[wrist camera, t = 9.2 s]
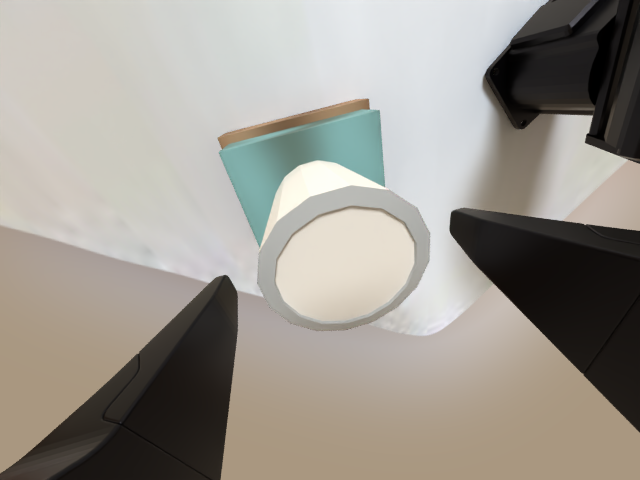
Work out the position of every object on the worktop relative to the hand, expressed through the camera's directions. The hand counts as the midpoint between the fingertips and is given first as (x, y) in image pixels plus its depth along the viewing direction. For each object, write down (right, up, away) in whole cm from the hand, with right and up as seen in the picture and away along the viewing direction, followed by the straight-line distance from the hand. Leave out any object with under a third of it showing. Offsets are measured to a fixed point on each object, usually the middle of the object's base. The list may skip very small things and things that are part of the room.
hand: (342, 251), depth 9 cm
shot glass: (-1, +3, +6) cm, 7 cm away
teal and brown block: (-2, +6, +11) cm, 12 cm away
